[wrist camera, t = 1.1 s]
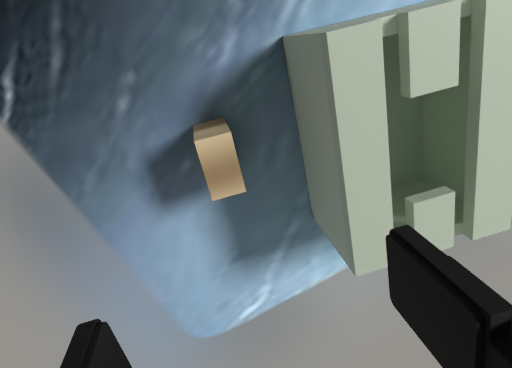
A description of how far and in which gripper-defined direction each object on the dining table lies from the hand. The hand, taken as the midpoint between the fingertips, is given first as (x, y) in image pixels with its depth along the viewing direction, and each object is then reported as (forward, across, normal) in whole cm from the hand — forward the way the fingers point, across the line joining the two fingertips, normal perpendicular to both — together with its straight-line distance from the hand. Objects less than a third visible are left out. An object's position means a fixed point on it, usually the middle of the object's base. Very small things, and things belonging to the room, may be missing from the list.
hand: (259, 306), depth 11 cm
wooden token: (+18, 0, 0) cm, 18 cm away
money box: (+18, -13, +1) cm, 22 cm away
